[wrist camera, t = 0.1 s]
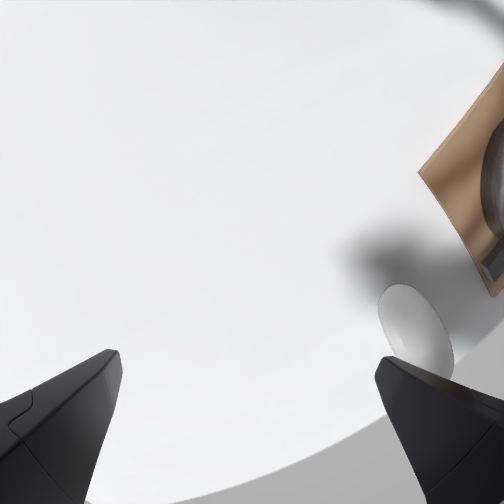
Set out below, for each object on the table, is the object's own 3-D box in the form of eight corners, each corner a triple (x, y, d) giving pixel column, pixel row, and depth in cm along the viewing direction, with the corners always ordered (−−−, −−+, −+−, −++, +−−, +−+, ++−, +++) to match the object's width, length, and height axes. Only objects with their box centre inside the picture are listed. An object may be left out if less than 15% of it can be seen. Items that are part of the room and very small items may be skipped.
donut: (413, 331, 29) (461, 396, 20) (386, 347, 29) (428, 417, 20) (393, 256, 25) (460, 321, 16) (360, 276, 26) (416, 350, 17)
